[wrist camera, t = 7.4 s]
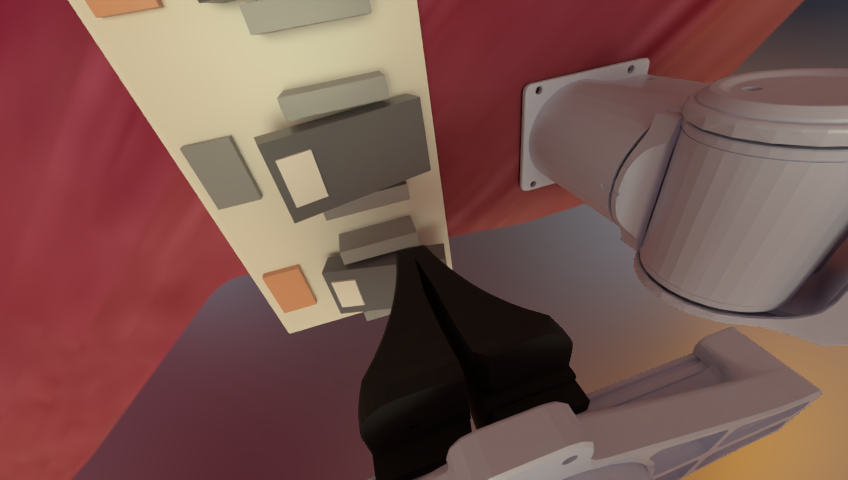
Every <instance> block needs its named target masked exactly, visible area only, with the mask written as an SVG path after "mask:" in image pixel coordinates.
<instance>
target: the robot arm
mask: <svg viewBox="0 0 848 480" xmlns="http://www.w3.org/2000/svg"><path fill="white" fill-rule="evenodd" d="M629 67H630V69H629V71H628V68H629ZM648 68H649V59H648V58H639V59H634V60H630V61H625V62H621V63H617V64H612V65H608V66H603V67H599V68H595V69H590V70H586V71H581V72H577V73H573V74H568V75H564V76H559V77H555V78H551V79H546V80H542V81H537V82H533V83H529V84H527V85H526V86H525V88H524V89H523V101H522V131H521V161H520V188H521V189H522V190H523V191H529V190H532V189H536V188H540V187H543V186H547V185H551V184H555V183H556V184H558V185H559V186H561V187H562V188H564V189H565V190H567V191H568V192H570V193H571V194H573V195H574V196H575V197H577V198H578V199H580V200H581V201H583V202H584V203H586V204H587V205H589V206H590V207H592V208H593V209H595V210H596V211H598V212H599V213H600V214H602V215H603V216H605V217H607V218H608V219H609V220H611V221H612V222H614V223H615V224H617V225H618V226H619V227H620V229H621V240H622V241H623V242H624V243H626V244H627V245H629V246H630V247H631V248H633V249H634V250H636V251H637V253H636V255H635V258H634V268H635V272H636V274H637V276H638V278H639V279H640V280H641V282H642V283H643V285H644V286H645V287H647V288H648V289H649V290H650V291H651V292H652V293H653V294H654V295H656V296H657V297H659V298H660V299H661V300H663V301H665V302H666V303H668V304H670V305H671V306H674V307H676V308H678V309H680V310H682V311H684V312H687V313H690V314H692V315H695V316H698V317H701V318H704V319H708V320H712V321H717V322H722V323H728V324H738V325H749V326H757V327H762V328H767V329H771V330H775V331H779V332H782V333H786V334H788V335H792V336H795V337H797V338H800V339H803V340H806V341H809V342H812V343H814V344H817V345H821V346H840V345H841V346H842V345H848V69H838V68H798V69H777V70H765V71H756V72H748V73H742V74H736V75H731V76H727V77H724V78H721V79H718V80H716V81H714V82H712V83H705V82H698V81H691V80H684V79H677V78H670V77H663V76H656V75H649V74H647V72H648ZM537 87H539V91H538V93H536V92H535V91H536V88H537ZM533 181H534V182H533ZM531 182H533V184H532V185H530V184H531ZM395 258H396V285H395V292H394V298H393V303H392V308H391V312H390V316H389V320H388V323H387V326H386V329H385V332H384V335H383V337H382V340H381V342H380V345H379V347H378V349H377V352H376V354H375V356H374V359H373V360H372V362H371V364H370V366H369V368H368V370H367V372H366V374H365V376H364V378H363V379H362V383H361V389H360V396H359V407H358V410H359V411H358V418H359V428H360V434H361V438H362V439H363V441H364V442H365V444H366V445H367V447H368V449H369V450H370V452H371V453H372V455H373V461H374V470H375V477H373V478H371V479H368V480H680V479H682V478H684V477H685V476H687V475H689V474H691V473H693V472H695V471H697V470H699V469H701V468H703V467H705V466H706V465H709V464H710V463H712V462H714V461H716V460H718V459H720V458H722V457H724V456H726V455H728V454H730V453H732V452H734V451H736V450H738V449H740V448H742V447H744V446H746V445H748V444H750V443H752V442H754V441H757V440H759V439H761V438H763V437H765V436H767V435H769V434H772V433H774V432H776V431H778V430H779V429H781V428H782V427H783V426H784V425H786V424H787V423H788V422H789V421H790V420H792V419H793V418H794V417H795V416H796V415H798V414H799V413H800V412H801V411H802V410H804V409H805V408H806V407H807V406H808V405H810V404H811V403H812V402H813V401H814V400H816V399H817V398H818V397H819V396H821V395H822V391H821V390H820V389H819V388H817V387H816V386H815V385H813V384H812V383H811V382H809V381H808V380H806V379H805V378H804V377H802V376H801V375H799V374H798V373H796V372H795V371H794V370H792V369H791V368H790V367H788V366H787V365H785V364H784V363H783V362H781V361H780V360H778V359H777V358H776V357H774V356H773V355H772V354H770V353H769V352H767V351H766V350H765V349H763V348H762V347H760V346H759V345H758V344H756V343H755V342H753V341H752V340H751V339H749V338H748V337H746V336H745V335H744V334H742V333H741V332H739V331H738V330H736V329H735V328H734V327H729V328H727V329H725V330H721V331H719V332H716V333H714V334H711V335H709V336H707V337H704V338H703V339H702V340H700V341H699V342H698V343H697V344H696V346H695V348H694V350H693V353H692V354H688V355H686V356H684V357H681V358H678V359H676V360H673V361H670V362H668V363H665V364H663V365H660V366H658V367H655V368H653V369H650V370H647V371H645V372H642V373H640V374H637V375H635V376H632V377H629V378H627V379H624V380H622V381H619V382H617V383H614V384H612V385H609V386H607V387H604V388H601V389H599V390H596V391H594V392H591V393H589V394H585V393H584V392H583V390H582V389H581V388H580V386H579V385H578V383H577V382H576V381H575V379H576V375H575V373H574V372H573V370H572V369H571V368H570V367H569V362H570V358H571V353H572V347H573V343H572V341H571V339H570V337H569V336H568V335H567V334H566V332H565V331H564V330H563V329H562V328H561V327H560V326H559V325H558V324H557V323H556V322H555V321H554V320H553V319H552V318H551V317H550V316H549V315H545V314H542V313H539V312H535V311H532V310H528V309H525V308H522V307H519V306H516V305H514V304H511V303H509V302H507V301H504V300H502V299H500V298H498V297H495V296H493V295H491V294H489V293H487V292H485V291H483V290H482V289H480V288H478V287H477V286H475V285H473V284H472V283H470V282H468V281H467V280H465V279H464V278H463V277H461V276H459V275H458V274H457V273H456V272H454V271H453V270H452V269H450V268H449V267H448V266H447V265H445V264H444V263H443V262H442V261H441V260H440V259H439V258H437V257H436V256H435V255H434V254H433V253H432V252H431V251H430V250H429V249H428V248H427V247H426V246H425V245H421V246H417V247H414V248H410V249H407V250H404V251H400V252H397V253H396V254H395ZM470 413H471V415H472V418H473V421H474V424H475V427H476V430H475V431H473V432H472V430H471V423H470V419H471V415H470Z"/></svg>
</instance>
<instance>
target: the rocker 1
mask: <svg viewBox="0 0 848 480" xmlns="http://www.w3.org/2000/svg"><path fill="white" fill-rule="evenodd" d="M232 1H236V0H198V2H199V3H227V2H232Z"/></svg>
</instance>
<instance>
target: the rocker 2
mask: <svg viewBox="0 0 848 480" xmlns="http://www.w3.org/2000/svg"><path fill="white" fill-rule="evenodd" d="M425 246H426V247H427V248H428V249H429V250H430V251H431V252H432V253H433V254H434V255H435V256H436V257H437V258H439V259H440V260H441V261H442V262H443V263H444V264H445V265H447V262H446V255H445V248H444V243H442V244H433V245H425ZM410 248H414V247H409V248H404V249H400V250H397V251H393V252H390V253H386V254H382V255H379V256H375V257H372V258H368V259H364V260H361V261H357V262H354V263H350V264H346V265H344V263H343V260H342V258H341V256H335V257H328V258H327V261H326V263H325V266H324V268H323V271H322V275H323V277H324V279H325V281H326V283H327V285H328V288H329V290H330V292H331V294H332V296H333V298H334V300H335V302H336V304H337V307H338V309H339V311H340V313H341V314H343V313H353V312H363V311H372V310H382V309H391V308H392V303H393V298H394V292H395V285H396V258H395V254H396V253H397V252H400V251H404V250H407V249H410Z"/></svg>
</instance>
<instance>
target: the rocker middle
mask: <svg viewBox="0 0 848 480" xmlns="http://www.w3.org/2000/svg"><path fill="white" fill-rule="evenodd" d="M254 140H255V142H256V144H257V146H258V148H259V151H260V153H261V155H262V157H263V159H264V161H265V163H266V165H267V167H268V169H269V171H270V173H271V175H272V177H273V180H274V182H275V184H276V186H277V188H278V190H279V192H280V194H281V196H282V198H283V200H284V202H285V204H286V206H287V209H288V211H289V213H290V215H291V217H292V219H293V221H294V223H298V222H300V221H303V220H305V219H308V218H310V217H313V216H316V215H318V214H321V213H323V212H326V211H328V210H331V209H333V208H336V207H339V206H341V205H344V204H346V203H349V202H351V201H354V200H356V199H359V198H362V197H364V196H367V195H369V194H372V193H374V192H377V191H379V190H382V189H385V188H387V187H390V186H392V185H395V184H397V183H400V182H402V181H405V180H408V179H410V178H413V177H415V176H418V175H420V174H423V173H425V172H428V171H431V167H430V160H429V154H428V147H427V140H426V133H425V127H424V120H423V113H422V107H421V100H420V97H418V96H414V95H409V94H403V95H399V96H396V97H392V98H389V99H386V100H382V101H379V102H375V103H372V104H368V105H365V106H361V107H358V108H354V109H351V110H347V111H344V112H340V113H337V114H333V115H330V116H326V117H323V118H319V119H316V120H312V121H309V122H305V123H302V124H298V125H295V126H291V127H288V128H284V129H281V130H277V131H274V132H270V133H267V134H263V135H260V136H256V137H254Z"/></svg>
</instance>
